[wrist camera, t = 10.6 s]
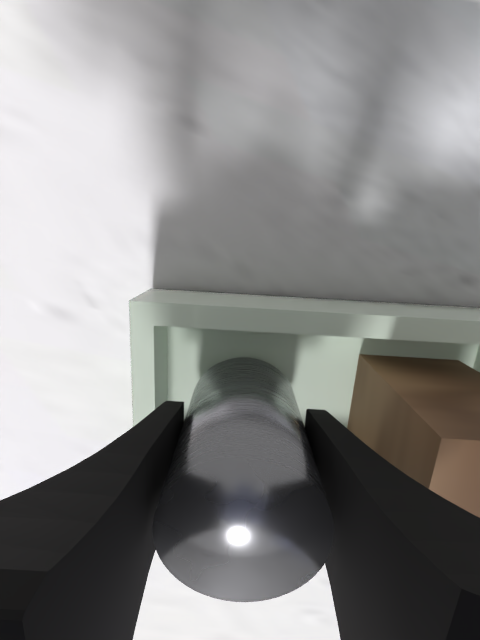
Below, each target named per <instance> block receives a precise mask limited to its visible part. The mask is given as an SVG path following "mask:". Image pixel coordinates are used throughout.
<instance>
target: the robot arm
mask: <svg viewBox="0 0 480 640" xmlns="http://www.w3.org/2000/svg"><path fill="white" fill-rule="evenodd" d="M183 423H184V402H180V401H165V402H163V403H162V404H161V405H160V406H159V407H157V408H156V409H155V410H154V411H152V412H151V413H150V414H149V415H148V416H146V417H145V418H144V419H143V420H141V421H140V422H139V423H138V424H136V425H135V426H134V427H132V428H131V429H130V430H129V431H127V432H126V433H124V434H123V435H122V436H120V437H119V438H117V439H116V440H114V441H113V442H112V443H110V444H109V445H107V446H106V447H104V448H103V449H101V450H100V451H98V452H97V453H95V454H93V455H92V456H90V457H88V458H87V459H85V460H83V461H82V462H80V463H78V464H76V465H75V466H73V467H71V468H69V469H67V470H65V471H63V472H61V473H59V474H57V475H55V476H53V477H51V478H49V479H47V480H45V481H43V482H41V483H39V484H37V485H35V486H33V487H31V488H29V489H26V490H24V491H22V492H19V493H17V494H15V495H12V496H10V497H8V498H5V499H3V500H0V640H132V639H133V635H134V631H135V626H136V622H137V618H138V614H139V609H140V605H141V601H142V597H143V593H144V589H145V585H146V581H147V576H148V573H149V569H150V566H151V562H152V559H153V556H154V553H155V550H156V548H155V544H154V540H153V530H152V528H153V519H154V515H155V511H156V508H157V505H158V502H159V499H160V495H161V492H162V489H163V486H164V483H165V480H166V477H167V473H168V470H169V467H170V464H171V461H172V458H173V455H174V452H175V448H176V445H177V442H178V439H179V436H180V433H181V430H182V426H183ZM304 427H305V430H306V433H307V437H308V440H309V443H310V446H311V449H312V453H313V456H314V459H315V462H316V465H317V469H318V472H319V475H320V478H321V481H322V485H323V488H324V491H325V494H326V497H327V501H328V504H329V507H330V510H331V513H332V518H333V522H334V540H333V545H332V548H331V552H330V554H329V556H328V558H327V560H326V562H325V565H326V569H327V573H328V577H329V581H330V585H331V590H332V595H333V601H334V606H335V611H336V616H337V621H338V626H339V632H340V638H341V640H480V518H479V517H477V516H475V515H473V514H472V513H470V512H468V511H466V510H464V509H463V508H461V507H459V506H457V505H455V504H453V503H452V502H450V501H448V500H446V499H445V498H443V497H441V496H439V495H438V494H436V493H434V492H433V491H431V490H429V489H428V488H426V487H425V486H423V485H422V484H420V483H419V482H417V481H415V480H414V479H412V478H411V477H409V476H408V475H406V474H405V473H403V472H402V471H400V470H399V469H398V468H396V467H395V466H393V465H392V464H391V463H389V462H388V461H387V460H385V459H384V458H383V457H381V456H380V455H379V454H377V453H376V452H375V451H374V450H372V449H371V448H370V447H369V446H367V445H366V444H365V443H364V442H363V441H361V440H360V439H359V438H358V437H357V436H355V435H354V434H353V433H352V432H351V431H350V430H348V429H347V428H346V427H345V426H344V425H343V424H342V423H340V422H339V421H338V420H337V419H336V418H335V417H333V416H332V415H331V414H330V413H329V412H327V411H326V410H319V409H307V410H306V418H305V426H304Z"/></svg>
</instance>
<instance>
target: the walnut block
mask: <svg viewBox="0 0 480 640" xmlns="http://www.w3.org/2000/svg"><path fill="white" fill-rule="evenodd" d="M347 429H348V430H350V431H351V432H352V433H353V434H354V435H355V436H357V437H358V438H359V439H360V440H361V441H363V442H364V443H365V444H366V445H367V446H369V447H370V448H371V449H372V450H374V451H375V452H376V453H377V454H379V455H380V456H381V457H383V458H384V459H385V460H387V461H388V462H389V463H391V464H392V465H393V466H395V467H396V468H398V469H399V470H400V471H402V472H403V473H405V474H406V475H408V476H409V477H411V478H412V479H414V480H415V481H417V482H419V483H420V484H422V485H423V486H425V487H426V488H428V489H429V490H431V491H433V492H434V493H436V494H438V495H439V496H441V497H443V498H445V499H446V500H448V501H450V502H452V503H453V504H455V505H457V506H459V507H461V508H463V509H464V510H466V511H468V512H470V513H472V514H473V515H475V516H477V517H479V518H480V372H478V371H476V370H475V369H473V368H471V367H469V366H468V365H466V364H464V363H463V362H461V361H459V360H449V359H432V358H416V357H399V356H382V355H365V354H359V358H358V364H357V371H356V377H355V383H354V389H353V395H352V401H351V407H350V413H349V419H348V425H347Z"/></svg>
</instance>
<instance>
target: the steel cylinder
mask: <svg viewBox="0 0 480 640" xmlns="http://www.w3.org/2000/svg"><path fill="white" fill-rule="evenodd" d="M152 530H153V540H154V544H155V548H156V550H157V553H158V555H159V557H160V559H161V561H162V562H163V564H164V565H165V567H166V568H167V569H168V570H169V571H170V573H171V574H173V575H174V576H175V577H176V578H177V579H178V580H179V581H181V582H182V583H183V584H185V585H186V586H188V587H190V588H191V589H193V590H195V591H197V592H199V593H202V594H204V595H207V596H210V597H213V598H217V599H221V600H226V601H234V602H254V601H262V600H268V599H272V598H276V597H279V596H282V595H285V594H287V593H290V592H292V591H293V590H295V589H297V588H299V587H301V586H302V585H304V584H305V583H307V582H308V581H309V580H310V579H311V578H312V577H314V576H315V575H316V573H317V572H318V571H319V570H320V569H321V568H322V566H323V565H324V563H325V562H326V560H327V558H328V556H329V554H330V552H331V548H332V545H333V540H334V522H333V518H332V513H331V510H330V507H329V504H328V501H327V497H326V494H325V491H324V488H323V485H322V481H321V478H320V475H319V472H318V469H317V465H316V462H315V459H314V456H313V453H312V449H311V446H310V443H309V440H308V437H307V433H306V430H305V427H304V424H303V421H302V417H301V414H300V411H299V408H298V405H297V401H296V398H295V395H294V392H293V389H292V386H291V384H290V383H289V381H288V379H287V378H286V377H285V375H284V374H283V373H282V372H281V371H280V370H278V369H277V368H276V367H275V366H273V365H271V364H269V363H267V362H265V361H263V360H259V359H256V358H249V357H238V358H231V359H227V360H224V361H222V362H219V363H217V364H216V365H214V366H212V367H211V368H210V369H208V370H207V371H206V372H205V373H204V374H203V375H202V377H201V378H200V379H199V381H198V382H197V384H196V387H195V389H194V392H193V395H192V398H191V401H190V404H189V408H188V411H187V414H186V417H185V420H184V423H183V426H182V430H181V433H180V436H179V439H178V442H177V445H176V448H175V452H174V455H173V458H172V461H171V464H170V467H169V470H168V473H167V477H166V480H165V483H164V486H163V489H162V492H161V495H160V499H159V502H158V505H157V508H156V511H155V515H154V519H153V528H152Z"/></svg>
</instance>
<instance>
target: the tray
mask: <svg viewBox="0 0 480 640" xmlns="http://www.w3.org/2000/svg"><path fill="white" fill-rule="evenodd" d="M129 316H130V346H131V376H132V407H133V427H134V426H135V425H136V424H138V423H139V422H140V421H141V420H143V419H144V418H145V417H146V416H148V415H149V414H150V413H151V412H152V411H154V410H155V409H156V408H157V407H159V406H160V405H161V404H162V403H163V402H165V401H180V402H184V420H185V417H186V414H187V411H188V408H189V404H190V401H191V398H192V395H193V392H194V389H195V387H196V384H197V382H198V381H199V379H200V378H201V377H202V375H203V374H204V373H205V372H206V371H207V370H208V369H210V368H211V367H212V366H214V365H216V364H217V363H219V362H222V361H224V360H227V359H231V358H238V357H249V358H256V359H259V360H263V361H265V362H267V363H269V364H271V365H273V366H275V367H276V368H277V369H278V370H280V371H281V372H282V373H283V374H284V375H285V377H286V378H287V379H288V381H289V383H290V384H291V386H292V389H293V392H294V395H295V398H296V401H297V405H298V408H299V411H300V414H301V417H302V421H303V424H304V426H305V418H306V410H307V409H319V410H326V411H327V412H329V413H330V414H331V415H332V416H333V417H335V418H336V419H337V420H338V421H339V422H340V423H342V424H343V425H344V426H345V427H346V428H347V425H348V419H349V413H350V407H351V401H352V395H353V389H354V383H355V377H356V371H357V364H358V358H359V354H365V355H382V356H399V357H416V358H432V359H449V360H459V361H461V362H463V363H464V364H466V365H468V366H469V367H471V368H473V369H475V370H476V371H478V372H480V308H473V307H456V306H439V305H422V304H405V303H388V302H371V301H354V300H336V299H319V298H302V297H285V296H268V295H251V294H234V293H217V292H199V291H182V290H165V289H149V290H147V291H146V292H144V293H142V294H140V295H138V296H137V297H135V298H133V299H131V300H130V301H129Z"/></svg>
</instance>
